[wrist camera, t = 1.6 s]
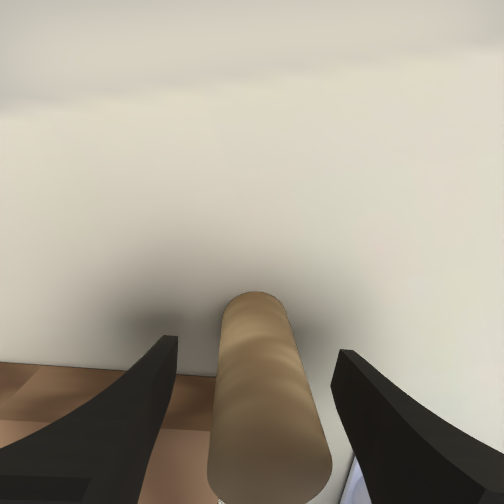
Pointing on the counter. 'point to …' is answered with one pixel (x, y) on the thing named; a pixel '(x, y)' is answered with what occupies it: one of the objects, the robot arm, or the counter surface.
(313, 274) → the counter surface
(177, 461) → the walnut board
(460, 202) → the counter surface
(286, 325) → the oak peg
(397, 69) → the counter surface
